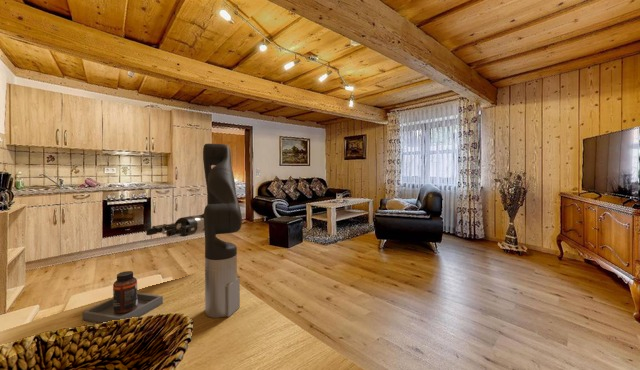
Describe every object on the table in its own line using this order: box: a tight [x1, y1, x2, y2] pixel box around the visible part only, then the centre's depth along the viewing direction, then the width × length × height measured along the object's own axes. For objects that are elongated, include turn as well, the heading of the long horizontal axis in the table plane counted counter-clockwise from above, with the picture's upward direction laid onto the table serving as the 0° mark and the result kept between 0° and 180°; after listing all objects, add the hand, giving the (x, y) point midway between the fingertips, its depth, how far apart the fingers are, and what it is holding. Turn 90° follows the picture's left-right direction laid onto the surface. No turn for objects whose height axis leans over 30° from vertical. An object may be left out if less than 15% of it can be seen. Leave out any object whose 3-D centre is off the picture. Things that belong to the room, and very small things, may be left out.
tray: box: [81, 292, 164, 324], centre depth 80 cm, size 14×14×2 cm
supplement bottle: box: [112, 270, 138, 314], centre depth 80 cm, size 6×6×11 cm
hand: (157, 233), depth 91 cm, fingers open, 8 cm apart
